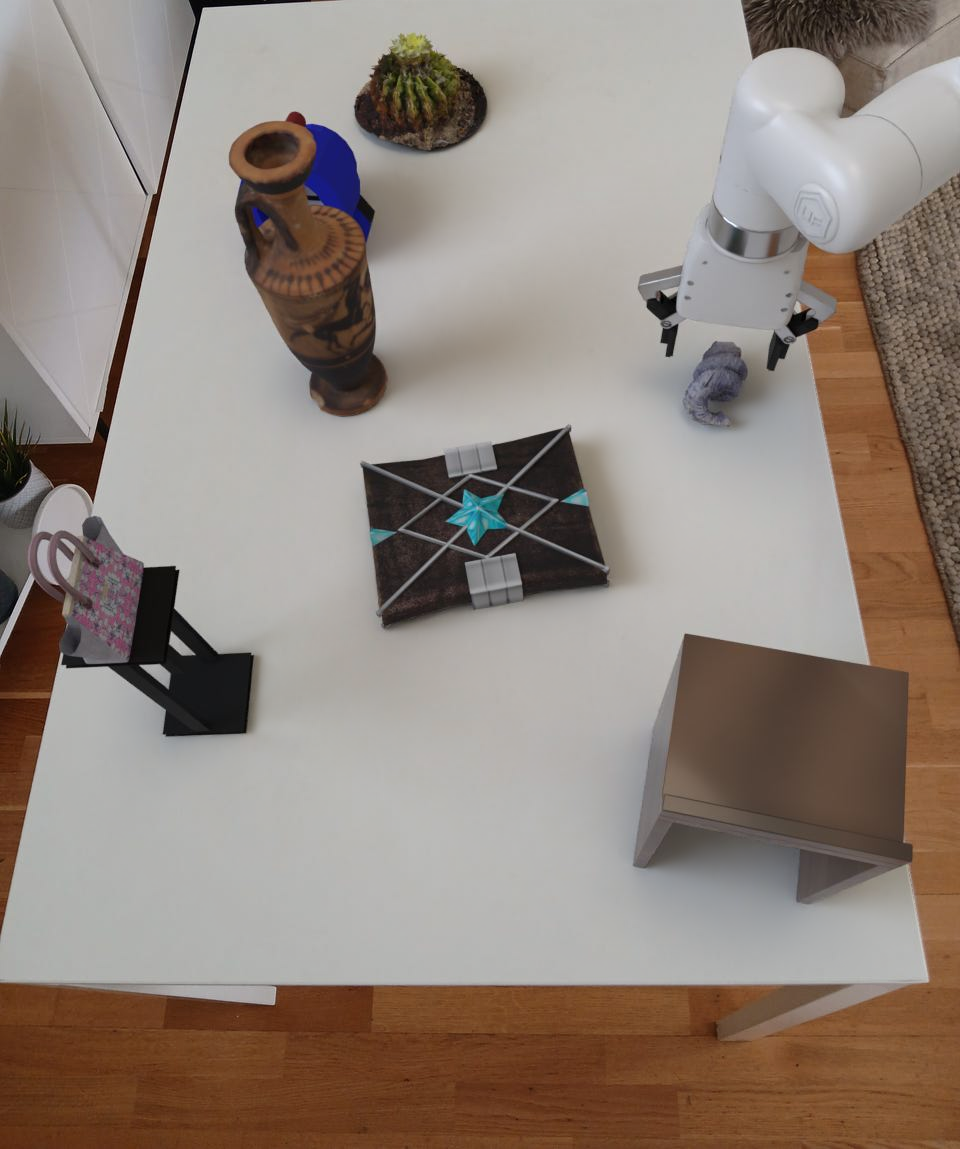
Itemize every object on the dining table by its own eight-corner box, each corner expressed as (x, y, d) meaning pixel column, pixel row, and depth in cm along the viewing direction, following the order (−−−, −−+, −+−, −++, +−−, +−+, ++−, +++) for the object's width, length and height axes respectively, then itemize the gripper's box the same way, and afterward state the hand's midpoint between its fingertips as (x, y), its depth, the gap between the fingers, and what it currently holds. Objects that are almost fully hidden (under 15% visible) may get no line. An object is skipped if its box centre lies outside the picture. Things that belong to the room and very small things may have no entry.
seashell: (706, 442, 93) (723, 367, 97) (747, 423, 88) (762, 345, 92) (669, 415, 91) (687, 339, 95) (709, 394, 86) (726, 315, 90)
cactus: (508, 85, 116) (504, 10, 108) (454, 168, 111) (445, 96, 102) (390, 56, 121) (377, -19, 112) (332, 135, 115) (313, 63, 106)
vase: (407, 347, 99) (350, 101, 72) (390, 429, 95) (324, 200, 68) (311, 342, 101) (220, 99, 74) (290, 423, 96) (186, 196, 69)
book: (383, 631, 85) (373, 610, 81) (363, 480, 92) (353, 453, 88) (610, 588, 85) (613, 565, 81) (572, 441, 93) (573, 412, 88)
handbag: (244, 748, 81) (87, 620, 54) (163, 751, 82) (-33, 625, 55) (255, 639, 86) (115, 470, 59) (178, 642, 86) (4, 477, 59)
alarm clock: (256, 267, 106) (212, 159, 93) (282, 191, 111) (244, 79, 98) (357, 274, 105) (327, 165, 91) (379, 196, 110) (353, 82, 96)
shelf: (819, 758, 77) (918, 663, 56) (808, 904, 72) (913, 862, 51) (653, 726, 79) (687, 623, 58) (632, 866, 74) (661, 810, 53)
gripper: (871, 192, 73) (815, 333, 88) (654, 170, 75) (637, 311, 91) (867, 263, 70) (809, 396, 85) (641, 237, 72) (625, 371, 88)
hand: (720, 352), depth 88 cm, fingers open, 9 cm apart
